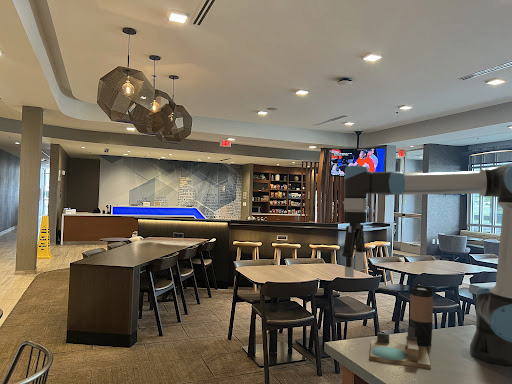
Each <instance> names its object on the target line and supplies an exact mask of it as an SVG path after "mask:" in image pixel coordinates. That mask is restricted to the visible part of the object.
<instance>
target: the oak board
mask: <svg viewBox="0 0 512 384" xmlns="http://www.w3.org/2000/svg"><path fill="white" fill-rule="evenodd" d="M376 335H377V337H376V338H377V339H376V340H375V339H371V340H370V341H371V342H370V352H369V360H370V361H375V362H381V361H382V363H388V362H389V364H394V363H396V364H397V365H402V366H403V365H404V366H409V367H415V368H422V369H423V368H424V369H429V370H430V369H431V367H432V364H431V361H430V357H429V355H428V350H427V347H423V346H418V349H419V361H414V360H408V355H407V358H405V359H403V360H387V359H383V358H381V357H378V356H376V355H375V354H373V353H372V349H374V348H376V347H391V348H396V349H399V350H402V351H403V352H405V353H406V354H407V349H406V348H407V343H406V344H405V343H398V342H397V343H396V342H392V341H391V342H390V333H387V332H377V334H376ZM407 336H410V337H415V328H413V327H410V326H408V327H407Z"/></svg>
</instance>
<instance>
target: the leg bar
mask: <svg viewBox="0 0 512 384" xmlns="http://www.w3.org/2000/svg"><path fill="white" fill-rule="evenodd" d="M406 344H407V348H406V349H407V355H408V360H414V361H419V349H418V344H417V337H410V336H408V335H406Z"/></svg>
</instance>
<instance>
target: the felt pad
mask: <svg viewBox="0 0 512 384" xmlns="http://www.w3.org/2000/svg"><path fill="white" fill-rule="evenodd" d="M372 353H373V354H375V355H376V356H378V357H381V358H383V359H387V360H403V359H405V358H407V354H406V353H405V352H403V351H402V350H399V349H396V348H391V347H376V348H374V349H372Z"/></svg>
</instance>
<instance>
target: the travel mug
mask: <svg viewBox="0 0 512 384" xmlns="http://www.w3.org/2000/svg"><path fill="white" fill-rule="evenodd" d="M409 301H410V302H409V327H413V328H415V337H417V344H418V346H423V347H426V348H427V347H431V346H432V339H433V338H432V337H433V316H434V315H433V314H434V312H433V311H434V310H433V309H434V306H433V305H434V304H433V302H434V290H433V288H432V287H429V286H424V285H414V286H413V287H412V286H411V287H410V300H409Z"/></svg>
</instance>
